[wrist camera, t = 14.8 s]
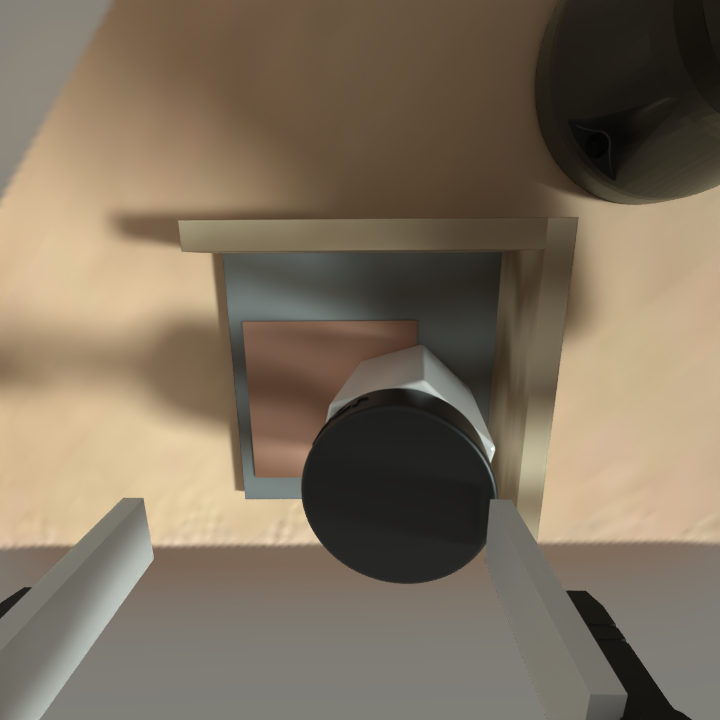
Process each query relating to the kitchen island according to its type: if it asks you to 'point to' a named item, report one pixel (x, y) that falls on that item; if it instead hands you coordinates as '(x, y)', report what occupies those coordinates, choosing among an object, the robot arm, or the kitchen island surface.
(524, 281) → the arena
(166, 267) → the kitchen island surface
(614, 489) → the kitchen island surface
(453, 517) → the jar
